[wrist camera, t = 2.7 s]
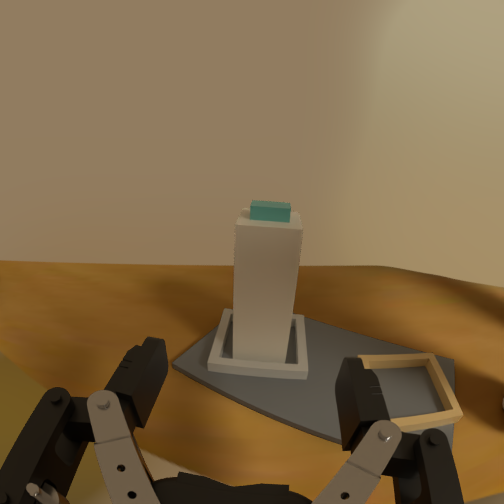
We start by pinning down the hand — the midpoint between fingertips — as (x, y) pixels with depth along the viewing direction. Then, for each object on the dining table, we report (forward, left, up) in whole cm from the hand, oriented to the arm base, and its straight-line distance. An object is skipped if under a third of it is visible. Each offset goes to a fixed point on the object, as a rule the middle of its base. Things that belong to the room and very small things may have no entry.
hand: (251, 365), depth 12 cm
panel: (-10, +2, -9) cm, 14 cm away
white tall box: (-10, -5, -9) cm, 14 cm away
